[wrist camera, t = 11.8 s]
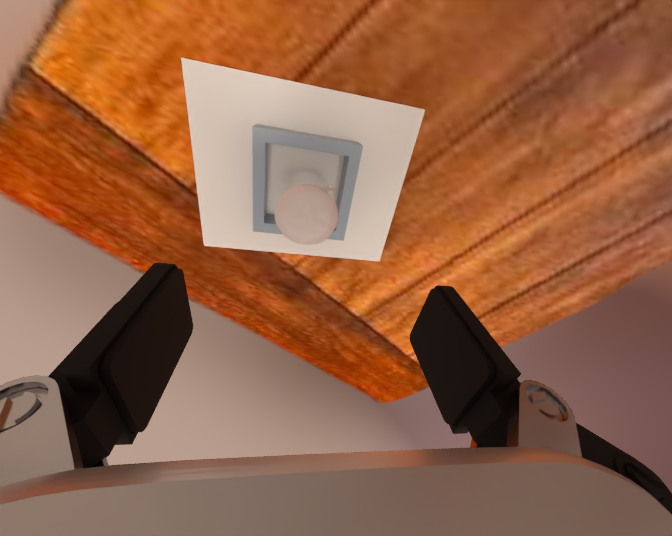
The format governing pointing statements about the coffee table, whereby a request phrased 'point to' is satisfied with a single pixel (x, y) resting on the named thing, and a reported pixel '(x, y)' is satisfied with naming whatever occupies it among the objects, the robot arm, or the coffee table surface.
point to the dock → (293, 158)
